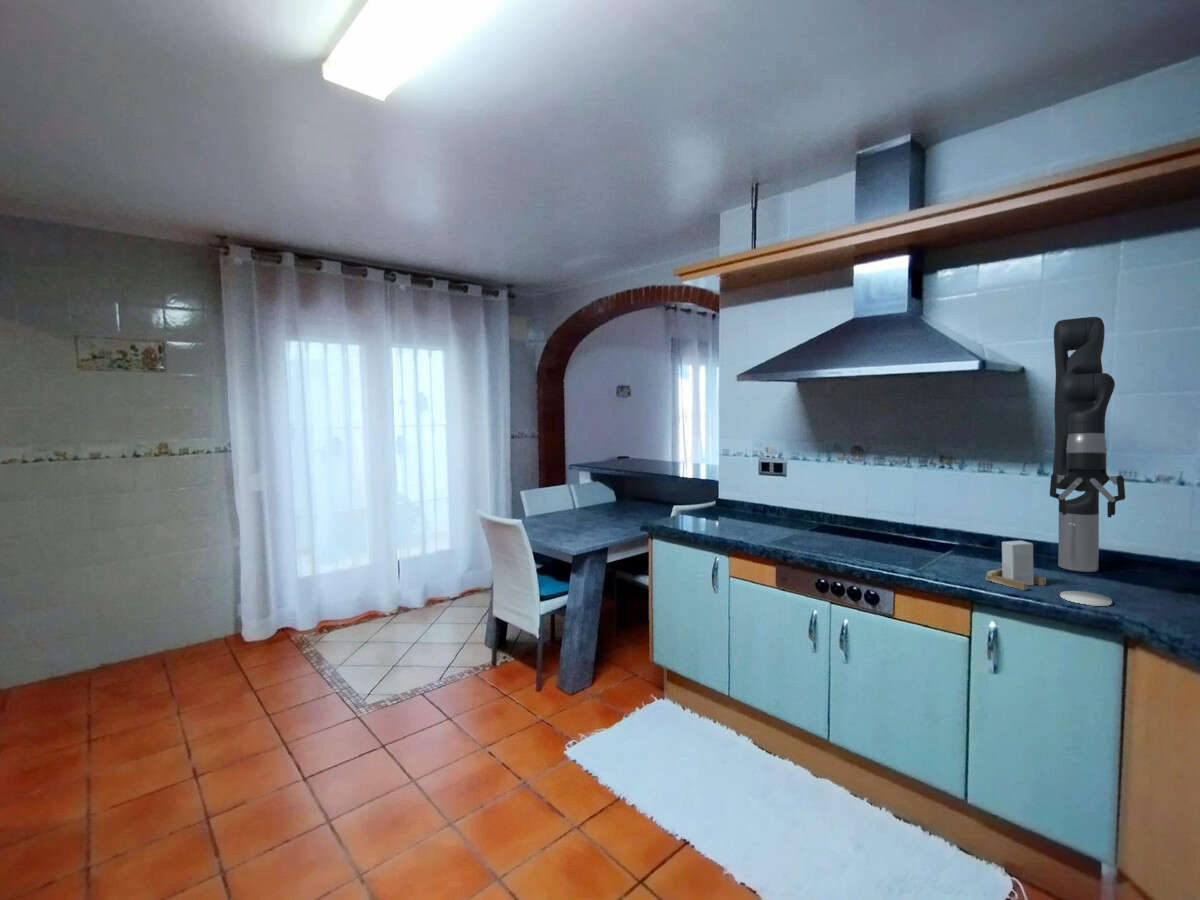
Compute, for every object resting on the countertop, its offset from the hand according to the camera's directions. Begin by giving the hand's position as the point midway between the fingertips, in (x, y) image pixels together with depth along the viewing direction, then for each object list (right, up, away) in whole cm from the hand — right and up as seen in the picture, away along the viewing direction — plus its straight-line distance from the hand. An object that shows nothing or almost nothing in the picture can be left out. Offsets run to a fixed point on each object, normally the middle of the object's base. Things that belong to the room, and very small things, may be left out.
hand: (1086, 516), depth 138 cm
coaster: (+2, -22, +3) cm, 22 cm away
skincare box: (-4, -22, +17) cm, 28 cm away
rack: (-4, -21, +17) cm, 28 cm away
